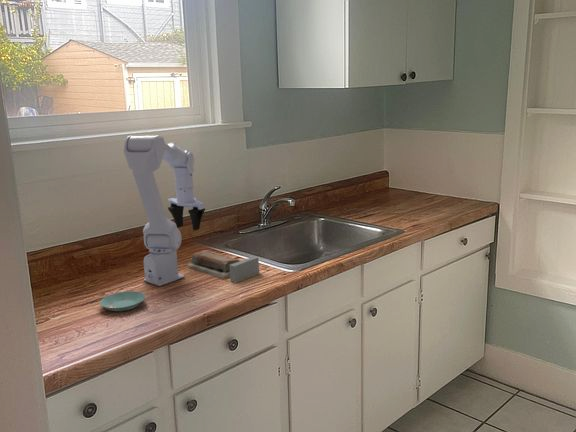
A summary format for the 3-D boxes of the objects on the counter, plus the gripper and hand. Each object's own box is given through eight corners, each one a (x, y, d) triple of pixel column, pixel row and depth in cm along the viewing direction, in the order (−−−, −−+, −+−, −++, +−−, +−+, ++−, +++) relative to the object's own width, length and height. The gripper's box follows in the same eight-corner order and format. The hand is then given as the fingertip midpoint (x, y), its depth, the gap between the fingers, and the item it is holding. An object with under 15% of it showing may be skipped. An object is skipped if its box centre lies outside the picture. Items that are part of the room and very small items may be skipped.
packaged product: (185, 254, 184) (209, 246, 191) (186, 268, 185) (210, 260, 192) (222, 265, 172) (247, 256, 179) (223, 280, 173) (248, 271, 180)
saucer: (93, 316, 151) (92, 307, 150) (110, 298, 162) (109, 290, 162) (138, 315, 150) (137, 307, 149) (151, 298, 161) (151, 290, 161)
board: (235, 282, 170) (234, 266, 169) (230, 281, 171) (229, 265, 170) (259, 273, 177) (258, 257, 176) (254, 271, 178) (253, 256, 177)
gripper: (209, 187, 186) (212, 227, 190) (177, 183, 195) (181, 222, 198) (193, 191, 181) (197, 233, 184) (161, 187, 189) (165, 227, 193)
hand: (188, 228), depth 191 cm, fingers open, 7 cm apart
